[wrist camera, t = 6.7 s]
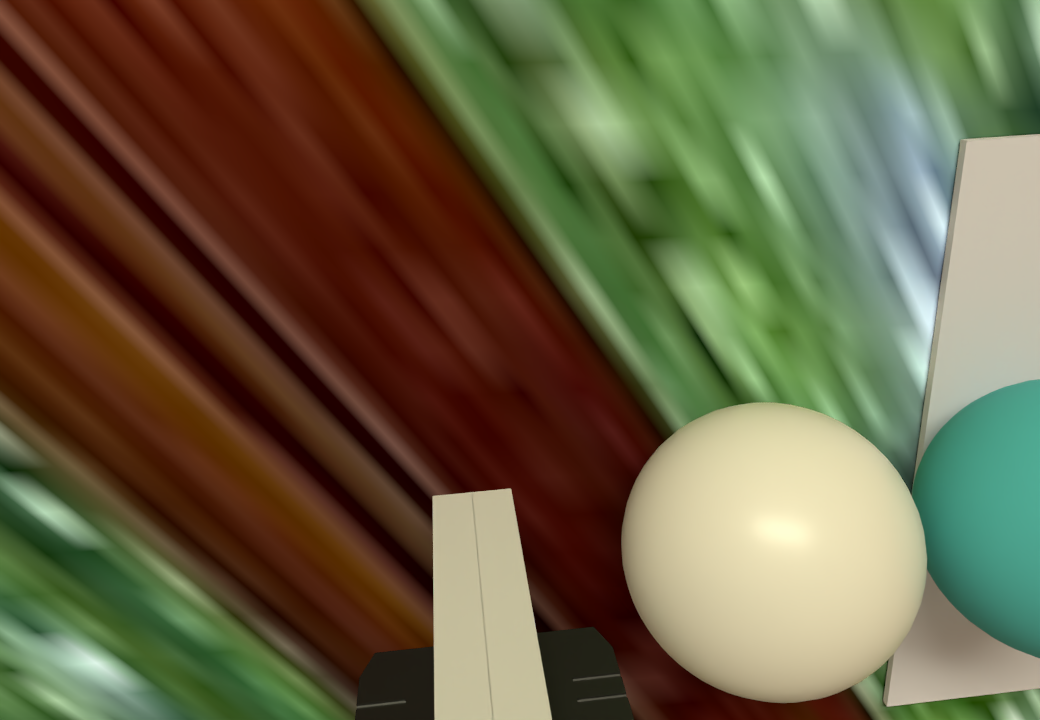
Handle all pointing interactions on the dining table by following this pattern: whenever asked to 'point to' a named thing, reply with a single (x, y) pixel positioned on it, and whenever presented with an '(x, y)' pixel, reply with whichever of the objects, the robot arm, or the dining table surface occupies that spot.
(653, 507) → the cue ball
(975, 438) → the object ball
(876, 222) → the dining table surface
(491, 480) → the dining table surface
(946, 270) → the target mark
